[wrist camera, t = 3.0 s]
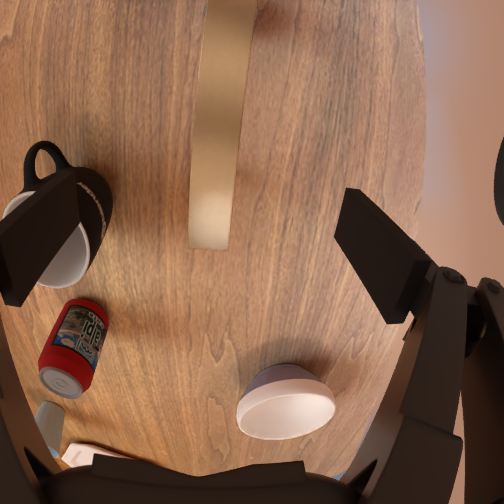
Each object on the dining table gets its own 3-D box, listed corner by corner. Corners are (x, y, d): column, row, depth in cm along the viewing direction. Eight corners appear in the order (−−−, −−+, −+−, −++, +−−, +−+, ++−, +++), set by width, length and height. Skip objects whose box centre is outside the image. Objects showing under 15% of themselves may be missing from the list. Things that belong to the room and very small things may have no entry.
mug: (135, 224, 32) (107, 280, 23) (68, 241, 32) (29, 295, 24) (100, 115, 26) (51, 136, 17) (31, 145, 26) (-26, 176, 17)
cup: (69, 421, 53) (59, 461, 44) (38, 408, 51) (25, 447, 42) (70, 407, 50) (59, 450, 41) (37, 392, 47) (22, 434, 38)
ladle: (208, -6, 21) (199, -66, 9) (257, -1, 22) (286, -58, 10) (190, 177, 30) (170, 247, 18) (235, 179, 31) (245, 252, 19)
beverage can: (120, 320, 39) (99, 394, 28) (90, 338, 40) (68, 406, 30) (84, 286, 36) (50, 357, 25) (56, 307, 37) (24, 374, 27)
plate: (136, 482, 74) (135, 488, 72) (61, 456, 65) (59, 462, 63) (168, 464, 65) (167, 472, 63) (74, 433, 56) (72, 441, 54)
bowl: (291, 409, 53) (298, 444, 46) (218, 393, 48) (219, 432, 42) (342, 362, 47) (356, 400, 40) (265, 338, 42) (272, 383, 36)
